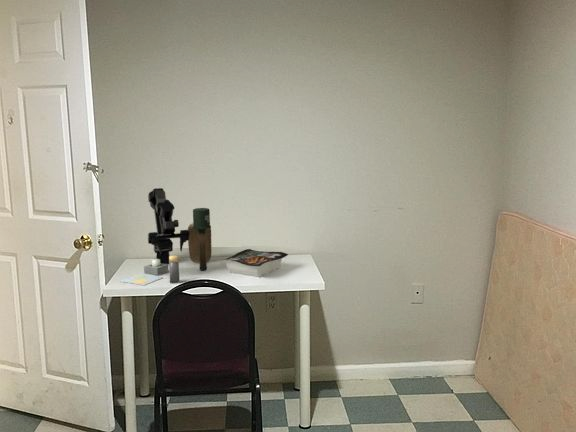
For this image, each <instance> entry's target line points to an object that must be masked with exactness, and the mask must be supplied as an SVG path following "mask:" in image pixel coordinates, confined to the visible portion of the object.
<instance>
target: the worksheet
mask: <svg viewBox="0 0 576 432" xmlns="http://www.w3.org/2000/svg"><path fill="white" fill-rule="evenodd" d="M162 279H163V277H161V276H156V275H150V274H141V273H138V274H135V275H133V276H130V277H127V278H124V279H122V280H119V282H120V283H126V284H131V285H136V286H137V285H139V286H144V287H145V286H146V285H149V284H151V283H155V282H156V281H159V280H162Z"/></svg>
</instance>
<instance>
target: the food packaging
mask: <svg viewBox="0 0 576 432" xmlns="http://www.w3.org/2000/svg"><path fill="white" fill-rule="evenodd" d="M288 255H289V253H286V252H283V251H258V250H253V249H251V248H248V249H247V248H246V249H243V250H241V251H239V252H236V253H235V254H234V255H231V256H230V257H227V258H223V259H222V261H225V264H226V269H227V270H228V272H229V273H232V274H237V275H244V276H249V277H255V278H256V277H257V278H260V277H262V276H266V275H268V274H269V273H271V272H275V271H276V270H279V269H281V264H282V259H284V258H286V257H287V256H288Z"/></svg>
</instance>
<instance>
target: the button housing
mask: <svg viewBox="0 0 576 432" xmlns="http://www.w3.org/2000/svg"><path fill="white" fill-rule="evenodd" d="M143 270H144V271H143V273H144V274H143V275H150V276H156V277H159V276H160V275H163V274H165V273H166V274H167V273H168V272H169V264H162V263H160V266H159V267H152V263H150V264H147V265H144V266H143Z"/></svg>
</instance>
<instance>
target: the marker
mask: <svg viewBox="0 0 576 432" xmlns="http://www.w3.org/2000/svg"><path fill="white" fill-rule="evenodd" d="M179 266H180V263H179V255H175V254H173V255H170V256H169V264H168V271H169V283H171V284H179V283H180V281H181V280H180V267H179Z"/></svg>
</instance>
